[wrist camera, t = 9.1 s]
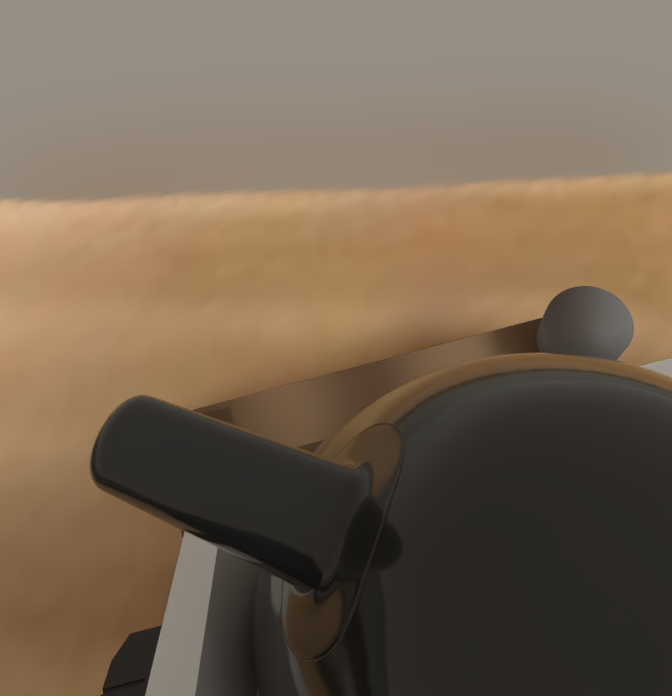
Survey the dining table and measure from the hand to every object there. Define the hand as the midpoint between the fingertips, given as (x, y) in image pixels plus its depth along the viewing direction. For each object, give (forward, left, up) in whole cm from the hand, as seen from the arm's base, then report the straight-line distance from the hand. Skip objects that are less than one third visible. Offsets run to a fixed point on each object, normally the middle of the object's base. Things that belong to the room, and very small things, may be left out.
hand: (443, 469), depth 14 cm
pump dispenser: (0, +3, -6) cm, 7 cm away
